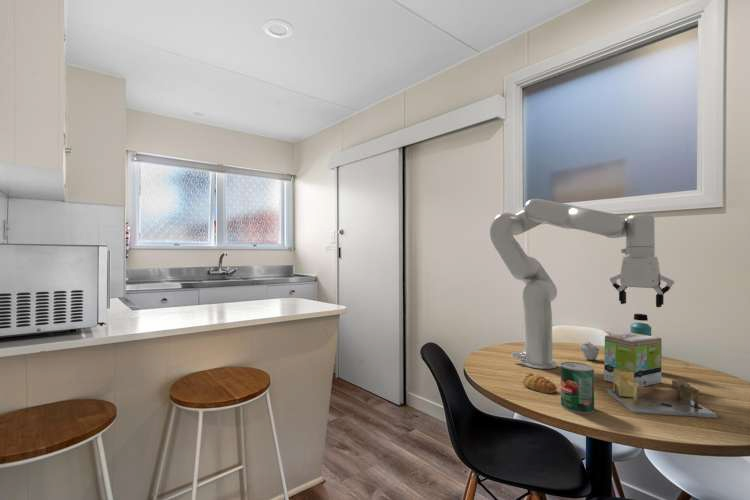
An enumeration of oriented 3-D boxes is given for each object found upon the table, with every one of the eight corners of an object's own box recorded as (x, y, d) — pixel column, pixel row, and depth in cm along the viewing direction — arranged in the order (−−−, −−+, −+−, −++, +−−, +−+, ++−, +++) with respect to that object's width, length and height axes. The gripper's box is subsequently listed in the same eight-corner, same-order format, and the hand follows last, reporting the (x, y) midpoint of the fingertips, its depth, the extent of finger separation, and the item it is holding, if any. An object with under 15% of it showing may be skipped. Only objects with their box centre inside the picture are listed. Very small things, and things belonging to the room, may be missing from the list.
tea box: (636, 390, 111) (636, 341, 112) (603, 380, 120) (602, 335, 121) (662, 382, 118) (662, 336, 119) (629, 374, 127) (628, 331, 128)
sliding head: (628, 402, 98) (628, 376, 98) (613, 391, 106) (613, 368, 107) (643, 403, 98) (643, 377, 98) (627, 392, 106) (627, 368, 106)
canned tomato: (600, 409, 97) (600, 367, 97) (584, 416, 92) (584, 372, 93) (570, 399, 103) (570, 360, 104) (554, 405, 99) (554, 364, 99)
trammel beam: (629, 403, 98) (629, 386, 98) (614, 392, 106) (614, 377, 107) (702, 408, 95) (702, 390, 96) (681, 396, 104) (681, 380, 104)
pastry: (562, 392, 110) (561, 379, 110) (548, 396, 106) (548, 383, 106) (533, 383, 118) (533, 371, 118) (520, 387, 114) (520, 374, 114)
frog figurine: (578, 357, 150) (578, 339, 150) (598, 358, 147) (597, 341, 147) (581, 360, 144) (580, 342, 144) (601, 362, 141) (601, 344, 142)
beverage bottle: (645, 367, 135) (644, 312, 136) (657, 372, 129) (656, 315, 129) (626, 366, 136) (625, 312, 137) (637, 372, 130) (636, 315, 130)
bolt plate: (632, 412, 95) (632, 408, 95) (607, 393, 109) (607, 389, 109) (716, 418, 92) (716, 413, 92) (679, 397, 106) (679, 393, 106)
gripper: (606, 252, 124) (606, 303, 124) (670, 252, 111) (670, 309, 110) (614, 252, 129) (614, 301, 128) (676, 252, 116) (677, 307, 115)
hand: (640, 305), depth 119 cm, fingers open, 9 cm apart
